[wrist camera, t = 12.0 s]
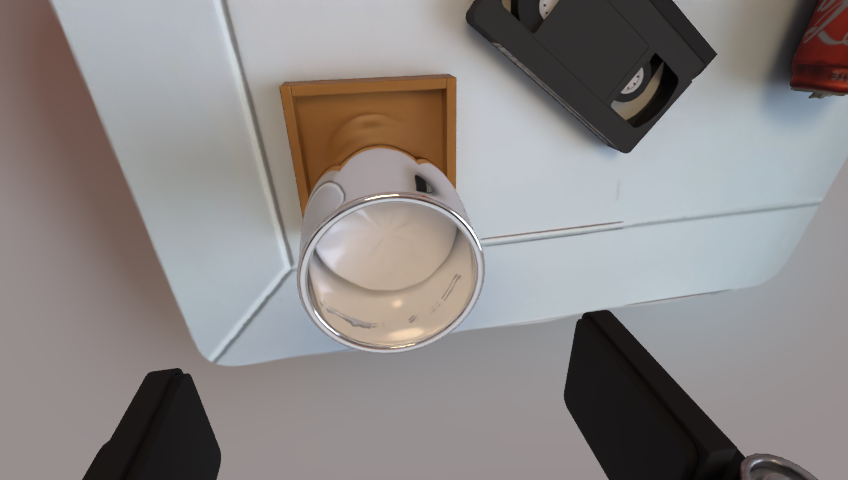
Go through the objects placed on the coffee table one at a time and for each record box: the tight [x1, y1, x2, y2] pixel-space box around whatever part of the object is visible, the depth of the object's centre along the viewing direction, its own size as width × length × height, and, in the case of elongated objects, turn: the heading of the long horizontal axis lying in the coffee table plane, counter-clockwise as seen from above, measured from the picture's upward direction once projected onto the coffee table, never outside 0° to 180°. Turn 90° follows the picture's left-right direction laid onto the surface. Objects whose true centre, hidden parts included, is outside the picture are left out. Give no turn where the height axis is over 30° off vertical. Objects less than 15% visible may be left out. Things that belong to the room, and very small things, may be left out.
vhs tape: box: [466, 0, 717, 153], centre depth 26 cm, size 14×8×2 cm, turn 54°
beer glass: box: [297, 114, 485, 354], centre depth 21 cm, size 7×7×15 cm
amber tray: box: [280, 74, 456, 218], centre depth 27 cm, size 10×10×2 cm
